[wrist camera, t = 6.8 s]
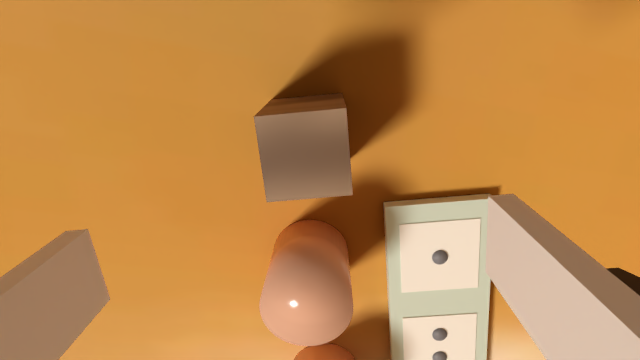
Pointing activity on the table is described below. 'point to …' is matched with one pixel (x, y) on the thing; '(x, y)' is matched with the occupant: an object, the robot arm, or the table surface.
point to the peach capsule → (308, 285)
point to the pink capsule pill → (324, 353)
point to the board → (437, 277)
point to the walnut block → (304, 147)
